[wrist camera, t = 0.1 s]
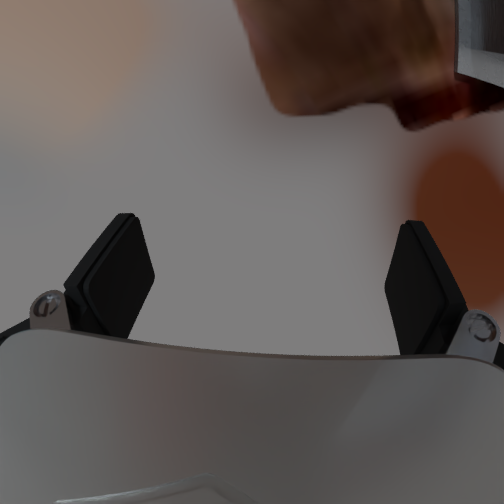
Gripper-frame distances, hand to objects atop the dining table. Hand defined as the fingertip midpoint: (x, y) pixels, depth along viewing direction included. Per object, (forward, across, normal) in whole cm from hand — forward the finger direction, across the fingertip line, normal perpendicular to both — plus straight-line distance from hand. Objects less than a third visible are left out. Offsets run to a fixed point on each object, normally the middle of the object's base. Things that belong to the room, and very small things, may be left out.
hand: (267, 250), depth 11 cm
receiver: (+31, -30, -16) cm, 46 cm away
